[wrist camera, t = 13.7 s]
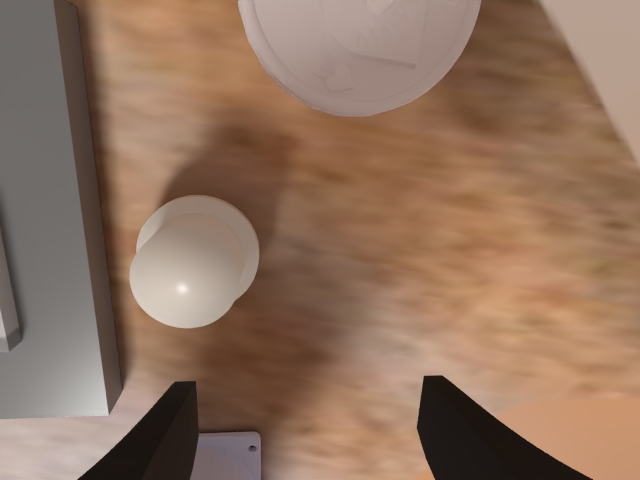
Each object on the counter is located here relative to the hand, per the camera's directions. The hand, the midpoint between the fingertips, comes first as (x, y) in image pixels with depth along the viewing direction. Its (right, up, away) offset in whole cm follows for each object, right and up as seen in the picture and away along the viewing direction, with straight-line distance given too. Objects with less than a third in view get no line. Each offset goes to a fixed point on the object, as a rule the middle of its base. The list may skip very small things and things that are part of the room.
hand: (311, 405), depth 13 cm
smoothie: (0, +14, +7) cm, 16 cm away
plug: (-6, +5, +9) cm, 12 cm away
